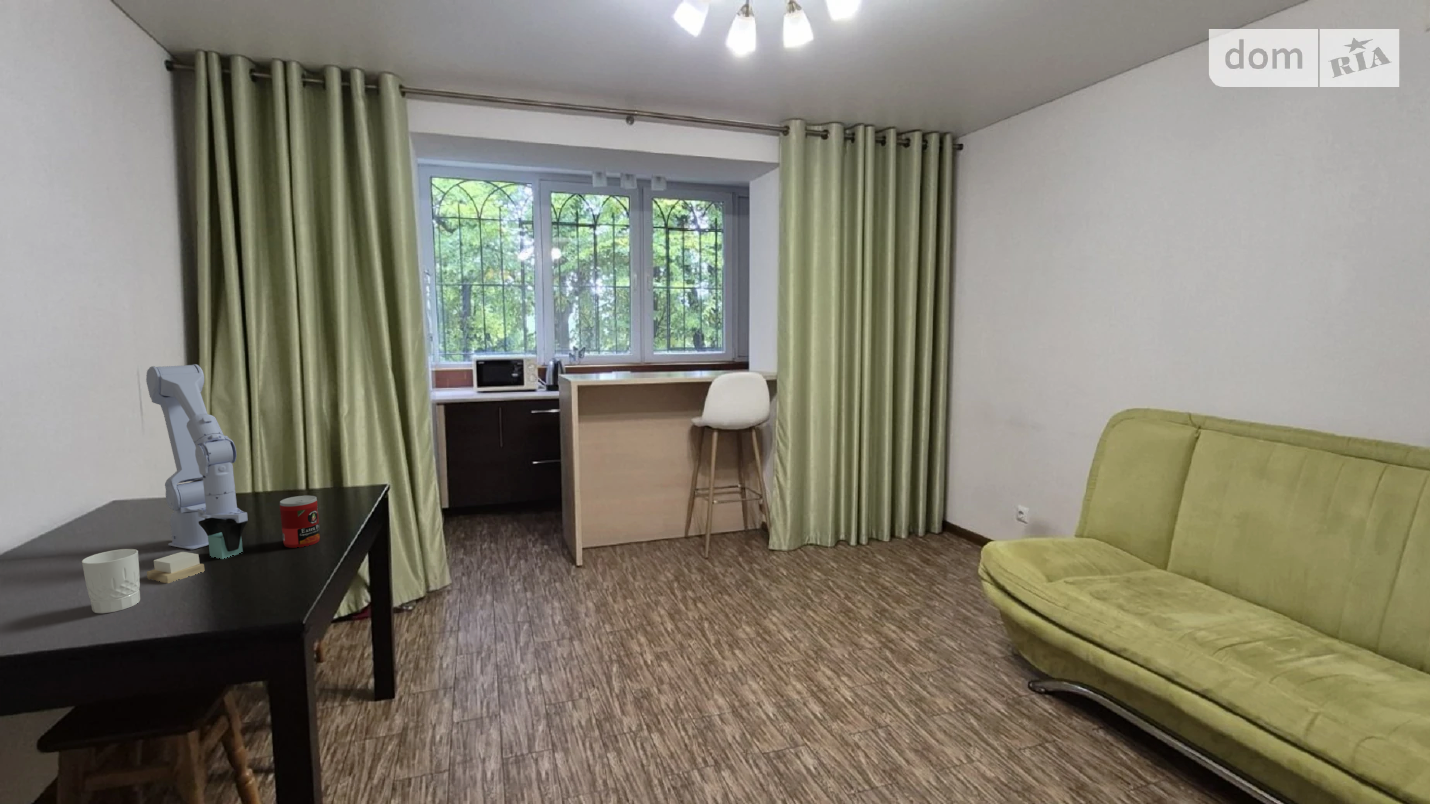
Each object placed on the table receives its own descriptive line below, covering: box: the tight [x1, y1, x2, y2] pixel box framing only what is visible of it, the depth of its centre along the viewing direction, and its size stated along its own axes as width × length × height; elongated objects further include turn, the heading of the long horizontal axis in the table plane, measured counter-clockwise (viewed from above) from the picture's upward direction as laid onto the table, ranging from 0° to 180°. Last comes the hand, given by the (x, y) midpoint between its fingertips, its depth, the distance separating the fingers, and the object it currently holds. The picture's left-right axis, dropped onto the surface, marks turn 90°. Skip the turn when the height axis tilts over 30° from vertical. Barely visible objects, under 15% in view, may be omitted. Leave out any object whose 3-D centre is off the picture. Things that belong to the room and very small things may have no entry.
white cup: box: [81, 548, 141, 614], centre depth 124 cm, size 8×8×10 cm
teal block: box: [208, 532, 244, 560], centre depth 152 cm, size 4×4×5 cm
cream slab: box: [153, 551, 201, 573], centre depth 140 cm, size 6×6×2 cm
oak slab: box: [146, 563, 206, 584], centre depth 140 cm, size 7×7×2 cm
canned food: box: [279, 495, 321, 549], centre depth 160 cm, size 8×8×11 cm
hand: (226, 548), depth 152 cm, fingers closed on teal block, 4 cm apart
